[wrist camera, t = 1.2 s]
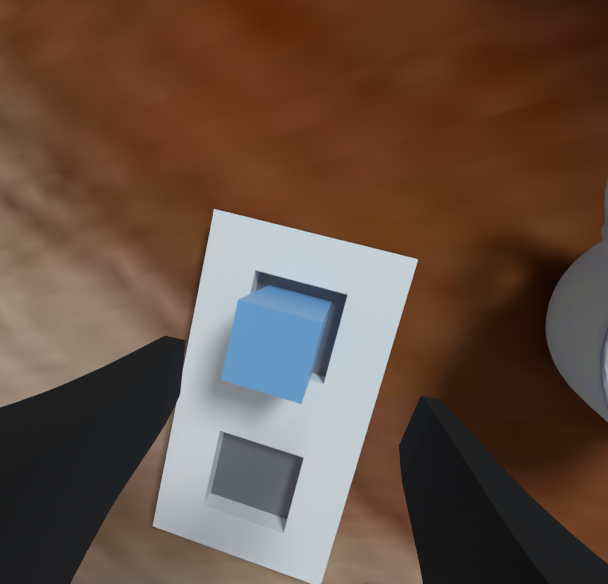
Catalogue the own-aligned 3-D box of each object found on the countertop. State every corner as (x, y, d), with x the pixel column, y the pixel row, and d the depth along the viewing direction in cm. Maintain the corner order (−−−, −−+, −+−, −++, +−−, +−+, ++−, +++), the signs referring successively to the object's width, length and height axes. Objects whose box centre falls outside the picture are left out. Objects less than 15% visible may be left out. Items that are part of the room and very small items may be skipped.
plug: (316, 361, 22) (301, 404, 16) (256, 344, 23) (220, 379, 17) (332, 301, 21) (322, 322, 16) (270, 284, 22) (237, 299, 16)
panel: (322, 564, 24) (320, 586, 23) (165, 509, 26) (152, 526, 24) (413, 258, 21) (418, 259, 19) (224, 211, 22) (214, 208, 21)
